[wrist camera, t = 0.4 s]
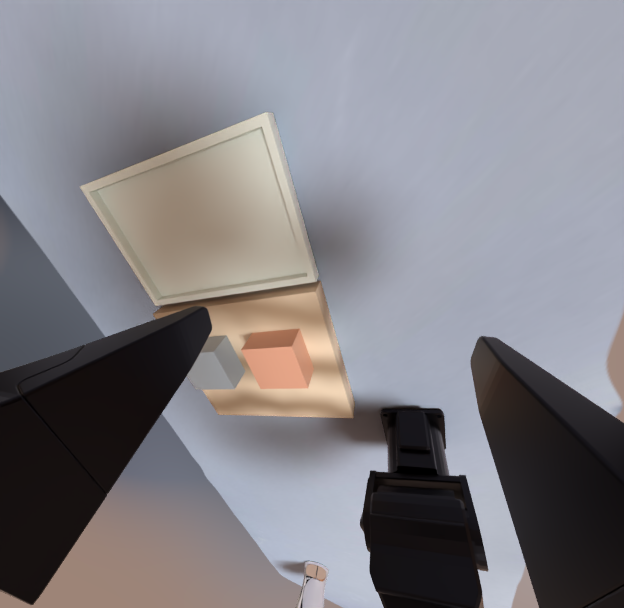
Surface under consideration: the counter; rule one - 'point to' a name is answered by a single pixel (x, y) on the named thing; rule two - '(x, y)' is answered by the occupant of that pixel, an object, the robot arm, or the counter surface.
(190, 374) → the grey box
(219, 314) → the birch board
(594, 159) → the counter surface
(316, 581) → the beer glass
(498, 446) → the robot arm
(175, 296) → the tray
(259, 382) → the terracotta block
